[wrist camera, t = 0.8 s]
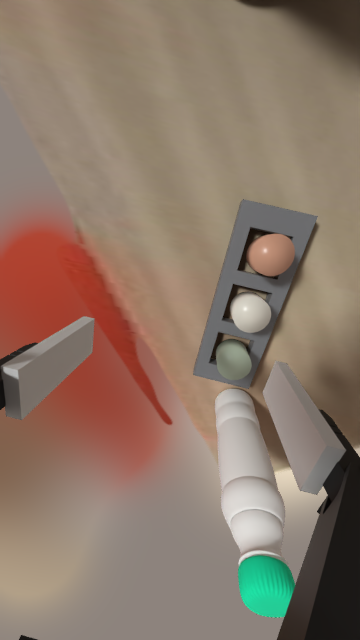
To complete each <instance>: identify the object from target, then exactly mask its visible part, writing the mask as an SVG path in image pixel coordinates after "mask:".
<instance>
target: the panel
mask: <svg viewBox="0 0 360 640" xmlns="http://www.w3.org/2000/svg"><path fill="white" fill-rule="evenodd" d="M317 217H318V216H314V215H310V214H306V213H301V212H297V211H292V210H288V209H284V208H279V207H275V206H270V205H266V204H261V203H257V202H253V201H248V200H244V199H243V200H242V201H241V203H240V206H239V210H238V213H237V217H236V220H235V224H234V227H233V231H232V235H231V238H230V242H229V245H228V249H227V252H226V256H225V259H224V263H223V267H222V270H221V274H220V277H219V281H218V284H217V288H216V291H215V295H214V299H213V302H212V306H211V309H210V313H209V316H208V320H207V323H206V327H205V331H204V334H203V338H202V341H201V345H200V348H199V352H198V355H197V359H196V363H195V366H194V371H193V375H195V376H199V377H203V378H207V379H211V380H215V381H219V382H223V383H227V384H231V385H235V386H239V387H243V388H247V389H249V387H250V385H251V382H252V380H253V377H254V375H255V372H256V370H257V367H258V365H259V362H260V360H261V357H262V355H263V352H264V350H265V347H266V345H267V342H268V340H269V337H270V335H271V332H272V330H273V327H274V325H275V322H276V320H277V317H278V315H279V312H280V310H281V307H282V305H283V302H284V300H285V297H286V295H287V292H288V290H289V287H290V285H291V282H292V280H293V277H294V275H295V272H296V270H297V267H298V265H299V262H300V260H301V257H302V255H303V252H304V250H305V247H306V245H307V242H308V240H309V237H310V235H311V232H312V230H313V227H314V225H315V222H316V220H317ZM250 229H254V230H259V231H263V232H267V233H272V234H282V235H285V236H287V237H288V238H289V239H290V240H291V241H292V243H293V245H294V248H295V256H294V260H293V262H292V264H291V266H290V267H289V268H288V269H287V270H286V271H285V272H283V273H281V274H279V275H276V276H274V278H271V277H267V276H262V275H258V274H254V273H250V272H246V271H241V270H237V269H238V266H239V263H240V259H241V256H242V253H243V249H244V246H245V243H246V240H247V236H248V233H249V230H250ZM233 284H236V285H240V286H244V287H249V288H253V289H257V290H261V291H265V292H268V294H267V297H266V299H265V302H266V303H267V304H268V305H269V307H270V309H271V319H270V321H269V323H268V325H267V326H266V327H265V328H264V329H262V330H260V331H258V332H254V333H247V332H244V331H242V330H240V329H239V328H238V327H237V326H236V325H235V323H234V321H233V319H228V318H224V317H223V315H224V312H225V308H226V305H227V302H228V298H229V295H230V292H231V289H232V285H233ZM218 332H221V333H225V334H229V335H233V336H237V337H241V338H245V339H249V340H250V343H249V346H248V348H247V352H248V355H249V357H250V360H251V363H252V367H251V370H250V372H249V374H248V375H247V376H245V377H244V378H242V379H239V380H229V379H226V378H224V377H223V376H222V375H221V374H220V373H219V371H218V369H217V361H216V359H212V358H210V357H211V354H212V351H213V347H214V344H215V341H216V338H217V334H218Z"/></svg>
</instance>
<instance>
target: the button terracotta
mask: <svg viewBox="0 0 360 640" xmlns="http://www.w3.org/2000/svg"><path fill="white" fill-rule="evenodd" d="M294 256H295V248H294V245H293V243H292V241H291V240H290V239H289V238H288V237H287V236H285V235H282V234H269V235H264V236H260V237H258V238H256V239H255V240H254V241H253V242H252V243H251V244H250V245H249V247H248V250H247V254H246V258H247V262H248V264H249V266H250V267H251V268H252V269H253V270H255V271H257V272H259V273H261V274H263V275H266V276H276V275H279V274H281V273H283V272H285V271H286V270H287V269H288V268H289V267H290V266H291V264H292V262H293V260H294Z"/></svg>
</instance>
